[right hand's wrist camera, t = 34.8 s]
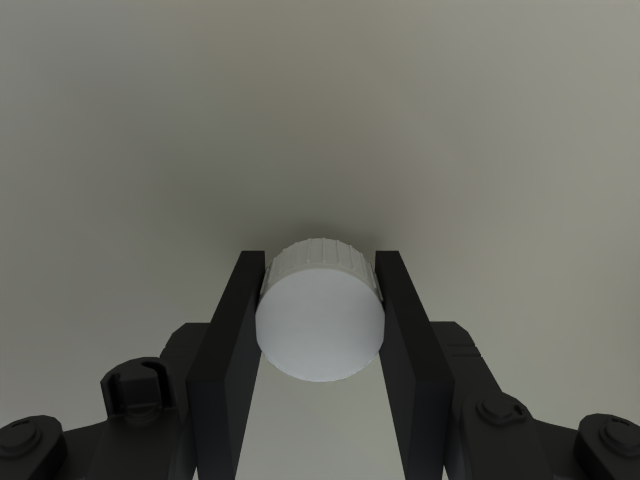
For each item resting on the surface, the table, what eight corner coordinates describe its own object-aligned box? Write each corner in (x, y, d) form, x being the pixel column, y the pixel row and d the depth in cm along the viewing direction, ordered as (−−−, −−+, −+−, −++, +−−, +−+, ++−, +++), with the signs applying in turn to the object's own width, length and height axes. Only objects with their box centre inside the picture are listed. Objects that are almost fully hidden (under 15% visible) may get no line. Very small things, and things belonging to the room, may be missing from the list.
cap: (242, 262, 14) (227, 296, 12) (352, 217, 14) (358, 245, 12) (291, 353, 16) (286, 399, 13) (394, 316, 15) (406, 358, 13)
